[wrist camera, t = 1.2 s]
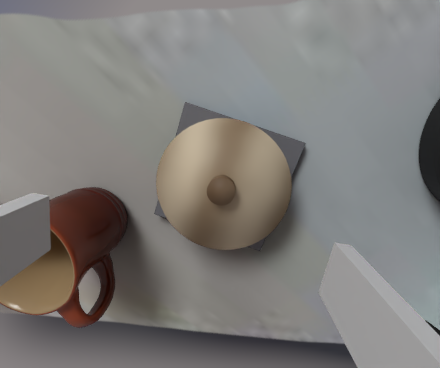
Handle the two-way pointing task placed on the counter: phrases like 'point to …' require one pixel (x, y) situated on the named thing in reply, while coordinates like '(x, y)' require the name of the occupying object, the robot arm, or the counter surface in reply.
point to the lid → (223, 184)
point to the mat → (286, 144)
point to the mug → (71, 258)
